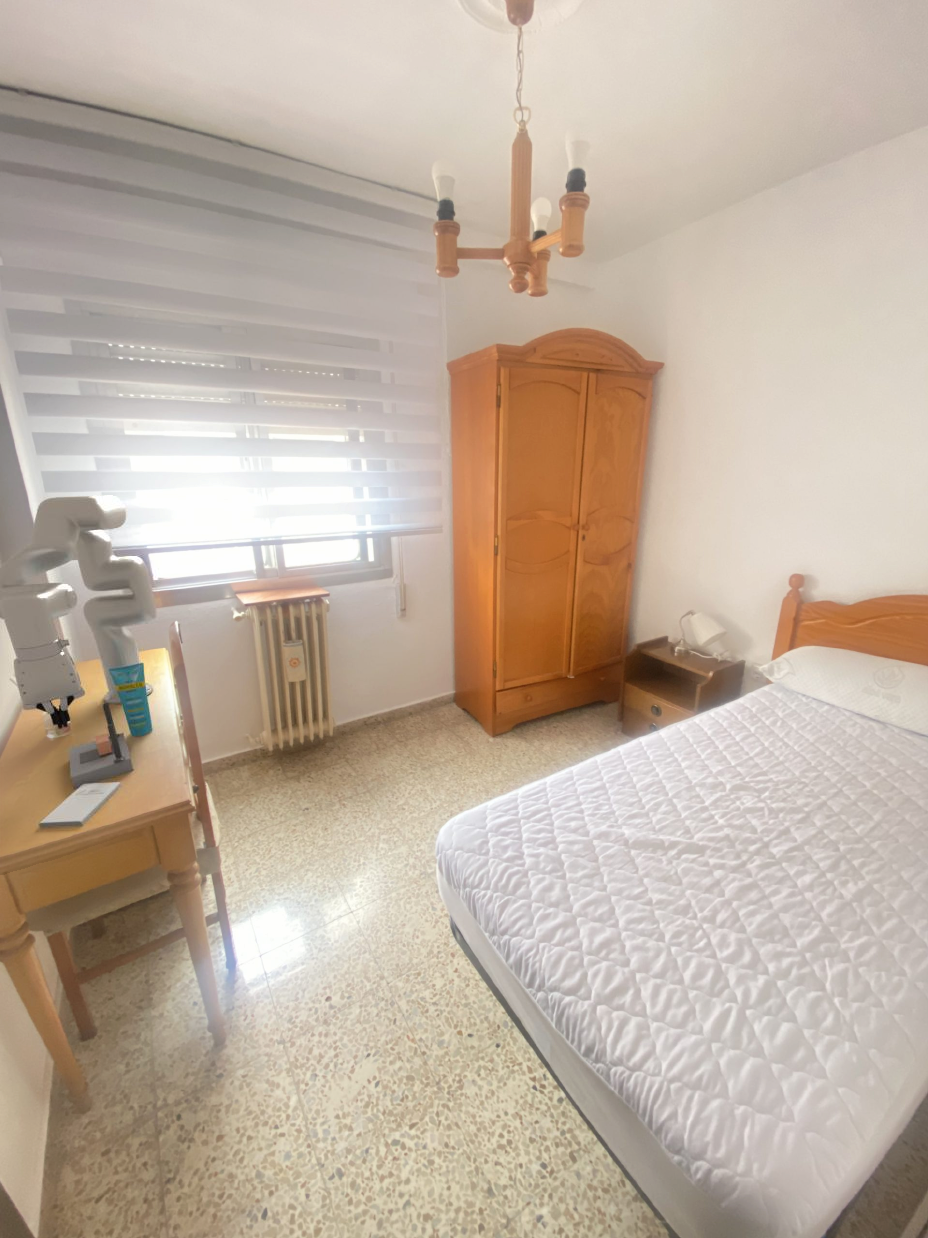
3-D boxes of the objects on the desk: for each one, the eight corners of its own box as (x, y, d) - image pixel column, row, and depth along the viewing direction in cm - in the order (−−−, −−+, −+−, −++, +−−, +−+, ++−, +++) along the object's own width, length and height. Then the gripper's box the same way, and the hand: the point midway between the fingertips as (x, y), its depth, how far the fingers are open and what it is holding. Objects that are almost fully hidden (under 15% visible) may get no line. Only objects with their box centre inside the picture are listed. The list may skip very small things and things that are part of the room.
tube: (125, 740, 126) (107, 671, 121) (125, 732, 130) (108, 665, 124) (159, 731, 130) (143, 664, 124) (158, 724, 134) (142, 659, 128)
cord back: (110, 733, 122) (102, 703, 120) (115, 731, 123) (107, 701, 120) (110, 735, 121) (102, 704, 119) (116, 733, 122) (108, 703, 120)
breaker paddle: (98, 748, 117) (95, 736, 116) (110, 745, 118) (107, 733, 117) (99, 755, 114) (96, 743, 113) (112, 752, 115) (108, 740, 114)
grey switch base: (72, 758, 119) (68, 747, 118) (125, 742, 125) (123, 731, 124) (74, 790, 107) (70, 777, 106) (133, 770, 114) (130, 758, 113)
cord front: (115, 756, 112) (106, 724, 110) (121, 754, 113) (113, 722, 110) (116, 759, 111) (107, 726, 109) (122, 757, 112) (113, 724, 110)
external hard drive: (40, 829, 96) (83, 789, 108) (83, 827, 97) (122, 787, 108) (37, 823, 96) (81, 783, 108) (81, 821, 96) (120, 781, 108)
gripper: (81, 637, 111) (102, 708, 118) (-7, 653, 103) (20, 730, 109) (83, 646, 106) (104, 721, 112) (-10, 665, 97) (18, 745, 103)
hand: (63, 725), depth 110 cm, fingers closed
